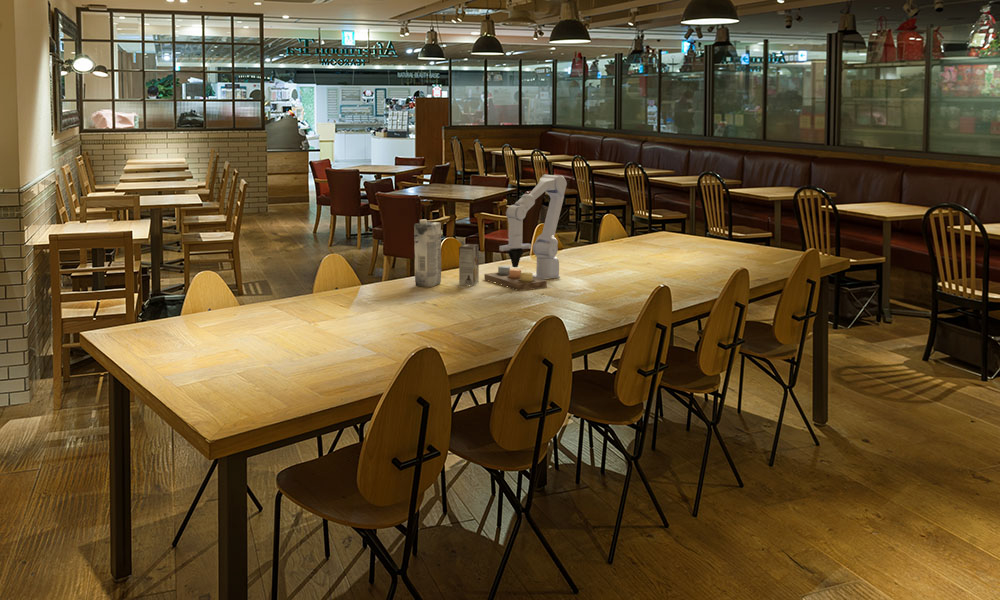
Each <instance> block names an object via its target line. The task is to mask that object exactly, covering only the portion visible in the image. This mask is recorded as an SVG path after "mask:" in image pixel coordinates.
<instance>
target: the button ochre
mask: <svg viewBox="0 0 1000 600" xmlns="http://www.w3.org/2000/svg"><path fill="white" fill-rule="evenodd" d="M533 275H534V274H533V272H526V271H525V272H521V278H520V281H521V282H524V283H527V282H533Z"/></svg>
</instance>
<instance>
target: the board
mask: <svg viewBox="0 0 1000 600" xmlns="http://www.w3.org/2000/svg"><path fill="white" fill-rule="evenodd" d="M483 275H484V279H486V280H485V281H487V280H489V281H488V282H490V281H492V282H491V283H493V282H496V283H495V284H497V283H498V284H497V285H500V284H502V285H501V286H503V285H504V287H506V286H508V287H507V288H509V287H510V288H509V289H512V288H514V289H513V290H515V289H517V290H516V291H524V289H526V290H533V288H534V289H540V288H542V289H543V288H547V286H548V282H547V280H546V279H539V278H536V277H533V282H527V283H524V282H521V281H520V278H519V279H511V278H509V275H505V276H501V275H498V271H497V272H489V273H484V274H483Z"/></svg>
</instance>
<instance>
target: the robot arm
mask: <svg viewBox="0 0 1000 600" xmlns="http://www.w3.org/2000/svg"><path fill="white" fill-rule="evenodd" d="M567 185H568V183H567V180H566V178H565V177H564V176H563V175H561V174H560V175H555V174H547V173H546V174H545V173H544V174H543V175H542V176H541V177H540V178H539V182H538V183H537V184H536V185H535V187H534V188H533V189H532V190H530V193H524V194H522V195H521V197H520V198H519V199H518V200H517V201H515V203H514V204H511V205H509V206H508V207H507V208H506V211H505V216H506V218H507V223H508V244H505V245H499V252H504V251H505V252H507V254H508V256H509V258H510V261H511V265H512V266H511V267H513V268H518V267H519V263H520V260H521V258H522V256H523V254H524V250H526V249H530V250H531V249H532V251H533V254H534V255H535V257H536V267H535V268H536V270H535V271H536V274H533V277H535V278H538V279H542V280H548V279H550V280H551V279H558V278H561V276H560V260H559V258H558V257H557V256H556V255H557V254H558V246H559V245H558V244H559V241H558V239H557V238H556V237H555V236H556V230H557V228H558V223H559V219H560V215H561V211H562V206H563V203H564V199H565V192H566V189H567ZM544 193H546V194H547V195H548V196H549V198H550V199H549V205H548V208H547V213H546V216H545V220H544V224H543V227H542V228H543V229H542V233H541V234H539V235H538V236H537V237H536V240H535V241H534V243H533V245H532V244H531V243H523V232H524V231H523V230H524V229H523V225H524V223H523V222H524V221H523V220H524V219H525V218H526V216H527V213H528V211H529V210H530V209H531V208H532V207H534V205H535V203H536V200H537V199H538V198H539V197H541V196H542V195H543V194H544Z"/></svg>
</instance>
